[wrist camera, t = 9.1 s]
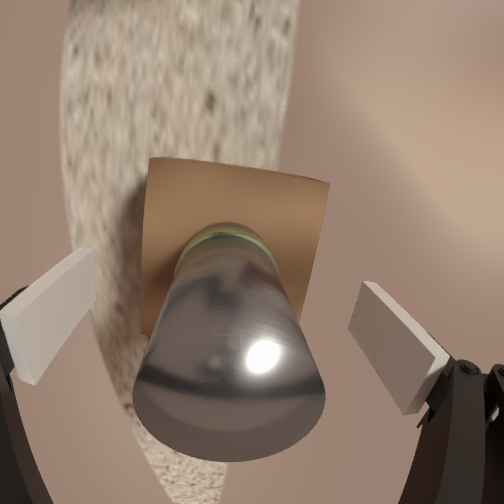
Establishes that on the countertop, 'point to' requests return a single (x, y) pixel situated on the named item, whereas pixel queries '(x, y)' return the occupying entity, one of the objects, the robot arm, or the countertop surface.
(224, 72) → the countertop surface
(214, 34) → the countertop surface
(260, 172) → the step block
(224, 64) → the countertop surface
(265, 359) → the column
